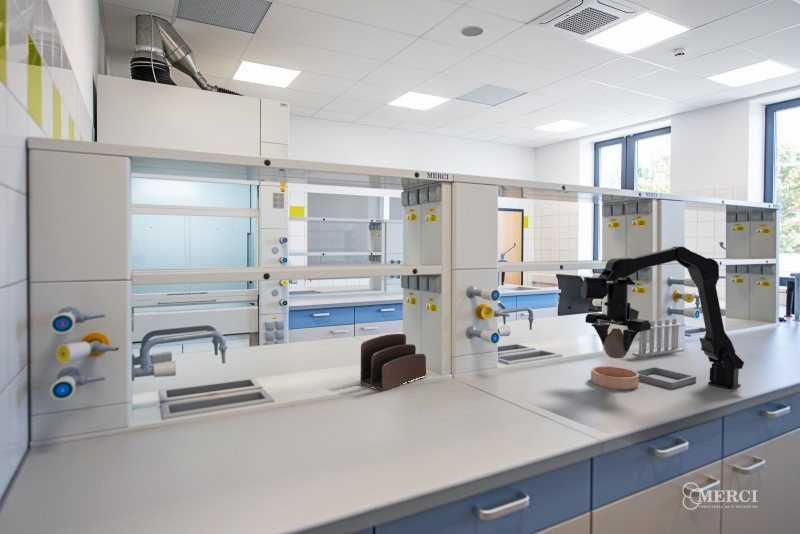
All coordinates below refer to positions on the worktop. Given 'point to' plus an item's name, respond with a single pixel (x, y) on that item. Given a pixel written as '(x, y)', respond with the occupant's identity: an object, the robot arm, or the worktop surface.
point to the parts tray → (684, 378)
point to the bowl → (615, 377)
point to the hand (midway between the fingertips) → (615, 349)
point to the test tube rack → (660, 338)
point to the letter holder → (390, 362)
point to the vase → (615, 344)
